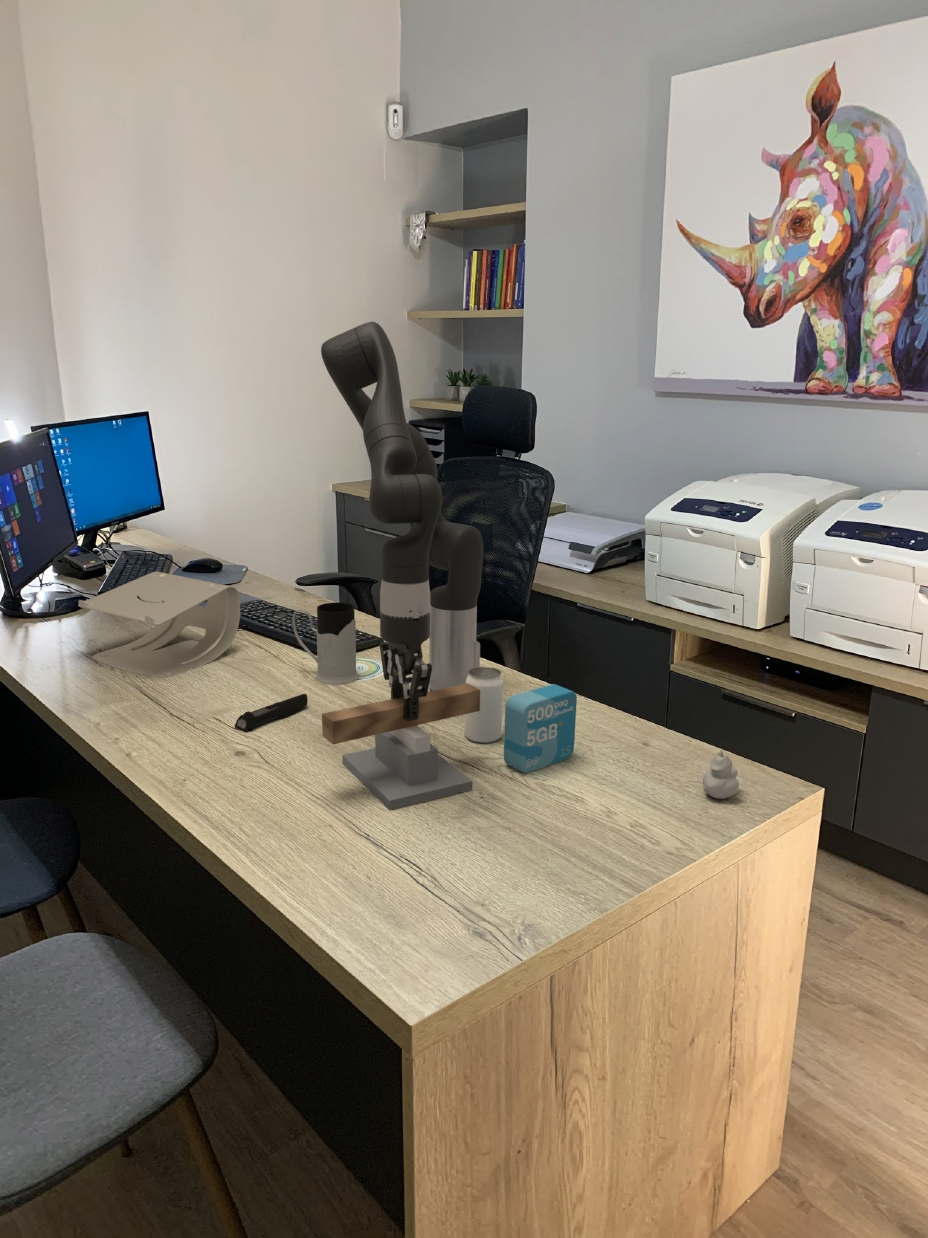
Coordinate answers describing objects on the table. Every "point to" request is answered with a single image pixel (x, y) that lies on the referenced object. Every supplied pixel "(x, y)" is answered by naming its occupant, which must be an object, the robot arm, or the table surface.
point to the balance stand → (406, 769)
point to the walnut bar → (398, 713)
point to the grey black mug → (334, 643)
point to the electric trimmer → (270, 713)
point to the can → (485, 706)
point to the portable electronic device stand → (170, 622)
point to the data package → (539, 727)
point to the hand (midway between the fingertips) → (404, 714)
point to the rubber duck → (721, 778)
